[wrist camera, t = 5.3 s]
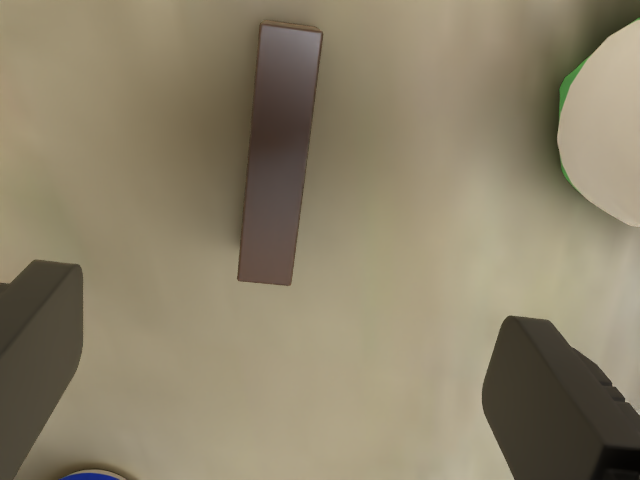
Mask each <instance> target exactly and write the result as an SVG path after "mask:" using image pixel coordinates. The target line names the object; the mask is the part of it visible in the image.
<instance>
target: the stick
mask: <svg viewBox="0 0 640 480" xmlns="http://www.w3.org/2000/svg"><path fill="white" fill-rule="evenodd" d="M322 40H323V32H322V31H321V30H320V29H318V28H317V27H313V26H306V25H299V24H292V23H285V22H278V21H271V20H263V21H262V22H261V23H260V27H259V38H258V49H257V61H256V72H255V83H254V95H253V106H252V117H251V129H250V140H249V151H248V163H247V174H246V185H245V197H244V208H243V219H242V231H241V242H240V253H239V265H238V276H237V279H238V281H243V282H254V283H265V284H276V285H287V286H290V285H291V282H292V274H293V267H294V259H295V251H296V243H297V235H298V227H299V220H300V212H301V204H302V196H303V188H304V181H305V173H306V165H307V157H308V149H309V142H310V134H311V126H312V118H313V110H314V102H315V95H316V87H317V79H318V71H319V63H320V56H321V48H322Z"/></svg>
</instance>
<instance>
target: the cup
mask: <svg viewBox="0 0 640 480" xmlns="http://www.w3.org/2000/svg"><path fill="white" fill-rule="evenodd" d="M559 92H560V104H559V128H558V135H557V143H558V147H559V152H560V162H561V170H562V172H563V174H564V176H565V178H566V179H567V181H568V182H569V183H570V184H571V185H572V186H573V187H574V188H575V189H576V190H577V191H578V192H579V193H581V194H582V195H583V196H584V197H585V198H586V199H587V200H588V201H590V202H591V203H593V204H594V205H596V206H597V207H599V208H600V209H602V210H603V211H605V212H606V213H608V214H610V215H612V216H613V217H615V218H617V219H618V220H620V221H622V222H624V223H625V224H628V225H631V226H637V227H640V17H639V18H638V19H636V20H635V21H633V22H631V23H630V24H629V25H627V26H626V27H624V28H622V29H621V30H619V31H617V32H616V33H614V34H612V35H611V36H609V37H608V38H607V39H606V40H605V41H604V42H603V43H602V44H601V45H600V46H599V47H598V48H597V50H596V51H595V52H594V53H593V54H591V55H590V56H589V57H588V58H586V59H585V60H584V61H583V62H582V63H581V64H580V65H579V66H578V67H577V68H576V69H575V70H574V71H572V72H571V73H570V74H569V75H567V76H566V77H565V78H564V80H563V82H562V84H561V86H560V88H559Z"/></svg>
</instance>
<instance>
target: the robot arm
mask: <svg viewBox="0 0 640 480" xmlns="http://www.w3.org/2000/svg"><path fill="white" fill-rule="evenodd" d="M82 347H83V273H82V269H81V267H80V265H78V264H70V263H61V262H53V261H44V260H34V261H32V262H31V263H30V264H29V265H28V266H27V267H26V268H25V269H24V270H23V271H22V272H21V273H20V274H19V275H18V276H17V277H16V278H15V279H14V280H13V281H12V282H11V283H10V284H6V283H0V480H13V479H14V477H15V476H16V474H17V472H18V470H19V469H20V467H21V465H22V464H23V462H24V460H25V458H26V457H27V455H28V453H29V451H30V450H31V448H32V446H33V445H34V443H35V441H36V439H37V438H38V436H39V434H40V433H41V431H42V429H43V427H44V426H45V424H46V422H47V421H48V419H49V417H50V415H51V414H52V412H53V410H54V409H55V407H56V405H57V403H58V402H59V400H60V398H61V396H62V395H63V393H64V391H65V390H66V388H67V386H68V384H69V383H70V381H71V379H72V378H73V376H74V374H75V372H76V370H77V367H78V365H79V361H80V357H81V353H82ZM482 405H483V410H484V414H485V416H486V418H487V421H488V423H489V425H490V427H491V429H492V431H493V434H494V436H495V438H496V440H497V442H498V444H499V447H500V449H501V451H502V453H503V455H504V457H505V459H506V462H507V464H508V466H509V468H510V470H511V472H512V475H513V477H514V479H515V480H640V416H639V415H638V413H637V412H636V411H635V410H634V409H633V407H632V406H631V405H630V404H629V403H627V402H625V398H624V397H623V395H622V394H621V393H620V392H619V391H618V389H617V388H616V387H612V382H611V381H610V380H609V379H608V377H607V376H606V375H605V374H604V373H603V371H602V370H601V369H600V368H599V367H598V365H597V364H595V363H594V362H592V361H591V360H590V359H588V358H587V357H586V356H584V355H583V354H581V353H580V352H579V351H577V350H576V349H575V348H572V347H571V346H570V345H569V344H568V342H567V341H566V340H565V339H564V337H563V336H562V335H561V334H560V332H559V331H558V330H557V329H556V327H555V326H554V325H553V324H552V323H551V322H550V321H549V320H544V319H536V318H527V317H518V316H508V317H507V318H506V319H505V320H504V321H503V323H502V325H501V328H500V331H499V334H498V338H497V341H496V344H495V347H494V350H493V353H492V357H491V360H490V363H489V366H488V369H487V373H486V376H485V379H484V383H483V388H482Z"/></svg>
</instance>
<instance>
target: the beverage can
mask: <svg viewBox="0 0 640 480" xmlns="http://www.w3.org/2000/svg"><path fill="white" fill-rule="evenodd" d="M59 480H126V479H125V478H123V477H122V476H120V475H117V474H115V473H112V472H109V471H104V470H83V471H78V472H75V473H72V474H70V475H67V476H65V477H63V478H61V479H59Z"/></svg>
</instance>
